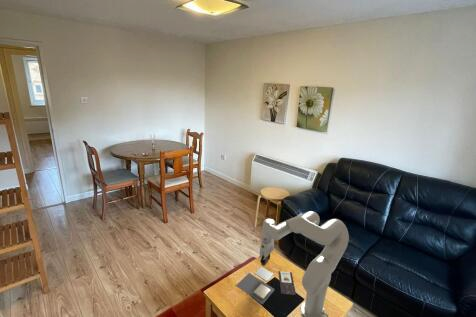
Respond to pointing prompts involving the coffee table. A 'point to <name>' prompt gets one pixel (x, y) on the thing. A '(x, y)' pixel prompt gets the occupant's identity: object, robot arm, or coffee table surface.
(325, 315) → the robot arm
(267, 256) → the flat brown wooden slab
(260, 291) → the tile
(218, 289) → the coffee table surface
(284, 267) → the coffee table surface
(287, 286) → the chocolate bar
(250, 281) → the mat
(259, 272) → the pad
